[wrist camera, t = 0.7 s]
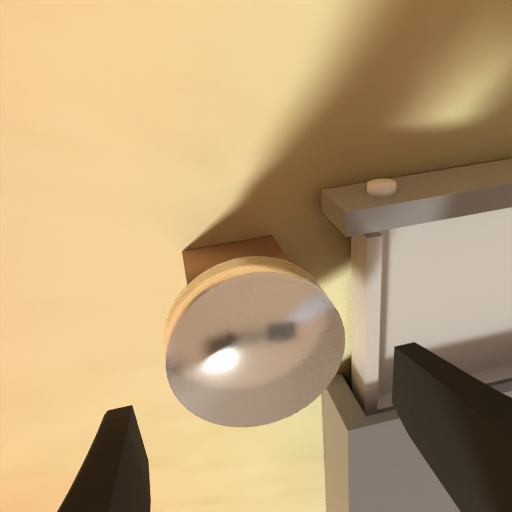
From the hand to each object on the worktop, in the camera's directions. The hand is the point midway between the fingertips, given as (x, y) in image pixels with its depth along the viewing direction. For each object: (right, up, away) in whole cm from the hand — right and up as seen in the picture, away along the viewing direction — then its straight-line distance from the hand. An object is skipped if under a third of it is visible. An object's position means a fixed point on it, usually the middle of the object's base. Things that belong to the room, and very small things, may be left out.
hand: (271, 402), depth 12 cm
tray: (+9, +3, +8) cm, 12 cm away
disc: (-1, +1, +3) cm, 3 cm away
